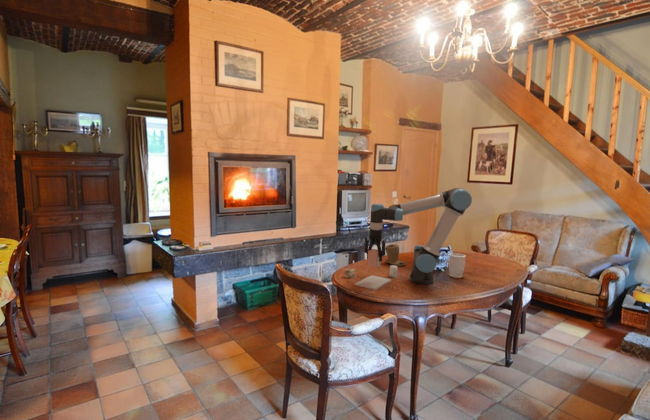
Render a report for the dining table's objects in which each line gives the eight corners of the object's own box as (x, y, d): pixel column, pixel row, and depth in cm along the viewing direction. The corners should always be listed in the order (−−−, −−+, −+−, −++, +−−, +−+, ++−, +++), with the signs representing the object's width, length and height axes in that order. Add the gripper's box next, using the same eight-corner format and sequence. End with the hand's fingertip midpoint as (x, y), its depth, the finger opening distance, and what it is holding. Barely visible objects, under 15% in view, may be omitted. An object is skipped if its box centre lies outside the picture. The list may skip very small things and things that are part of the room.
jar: (464, 275, 250) (466, 254, 248) (463, 279, 241) (465, 257, 239) (448, 273, 254) (450, 252, 252) (446, 277, 245) (448, 255, 243)
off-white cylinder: (398, 276, 243) (398, 266, 242) (395, 278, 239) (395, 267, 238) (391, 274, 246) (391, 264, 245) (388, 276, 242) (388, 266, 241)
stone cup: (381, 263, 275) (382, 243, 273) (392, 261, 282) (393, 242, 280) (395, 268, 263) (396, 247, 261) (407, 266, 269) (408, 246, 267)
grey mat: (391, 281, 233) (391, 279, 232) (375, 290, 215) (375, 288, 215) (371, 276, 241) (371, 275, 240) (354, 285, 223) (354, 283, 222)
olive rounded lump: (354, 276, 239) (355, 269, 239) (350, 278, 235) (351, 271, 235) (348, 275, 242) (348, 268, 241) (344, 277, 238) (344, 269, 237)
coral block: (380, 265, 227) (381, 250, 226) (376, 268, 222) (376, 252, 221) (371, 264, 230) (372, 248, 229) (367, 266, 225) (368, 250, 224)
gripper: (392, 230, 221) (390, 267, 224) (365, 226, 232) (363, 261, 235) (387, 231, 215) (385, 269, 218) (359, 227, 226) (357, 263, 228)
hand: (373, 265), depth 226 cm, fingers closed on coral block, 6 cm apart
